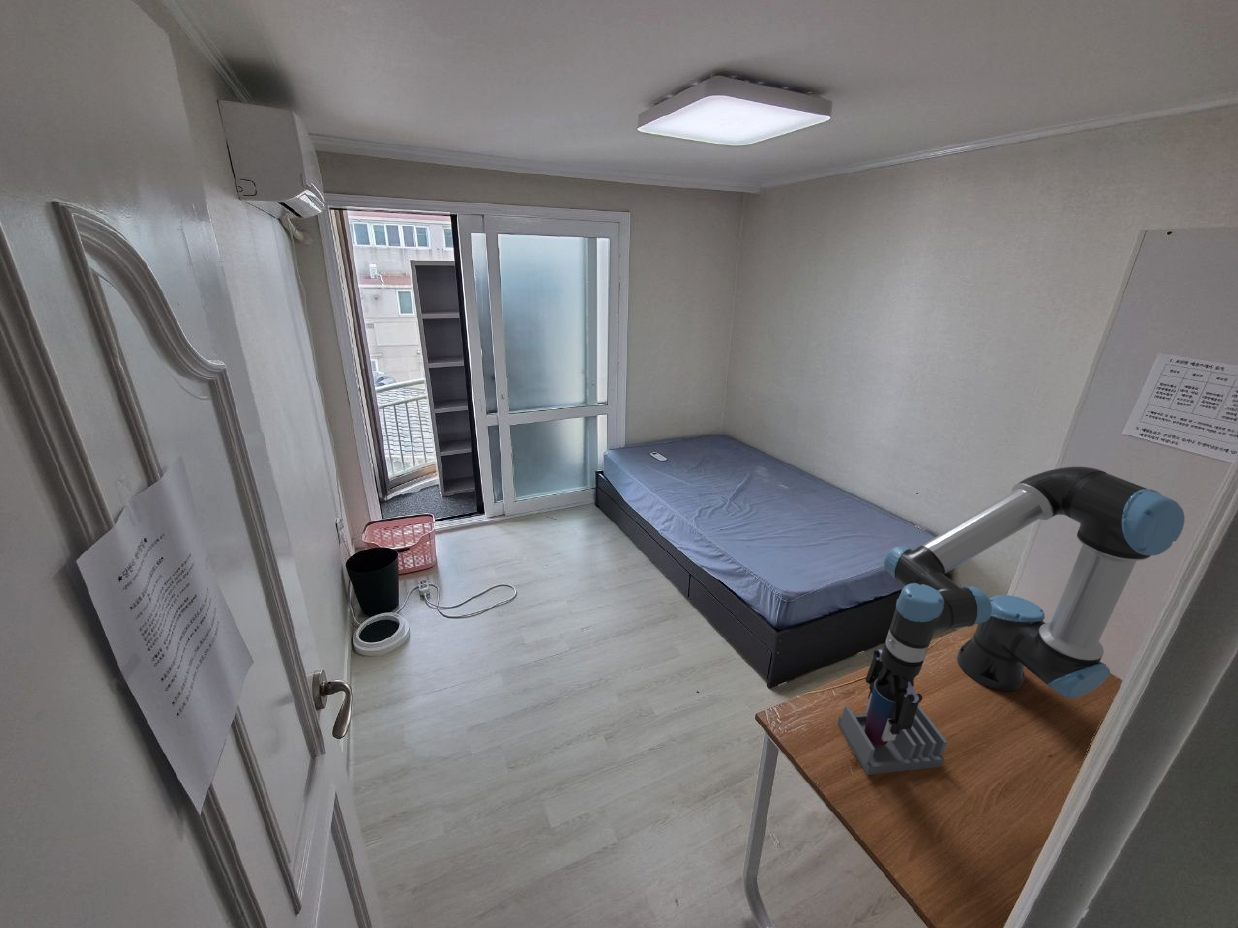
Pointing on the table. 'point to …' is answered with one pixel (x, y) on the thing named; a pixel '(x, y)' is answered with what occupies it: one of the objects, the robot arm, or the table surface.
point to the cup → (879, 713)
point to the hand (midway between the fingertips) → (879, 725)
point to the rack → (895, 745)
